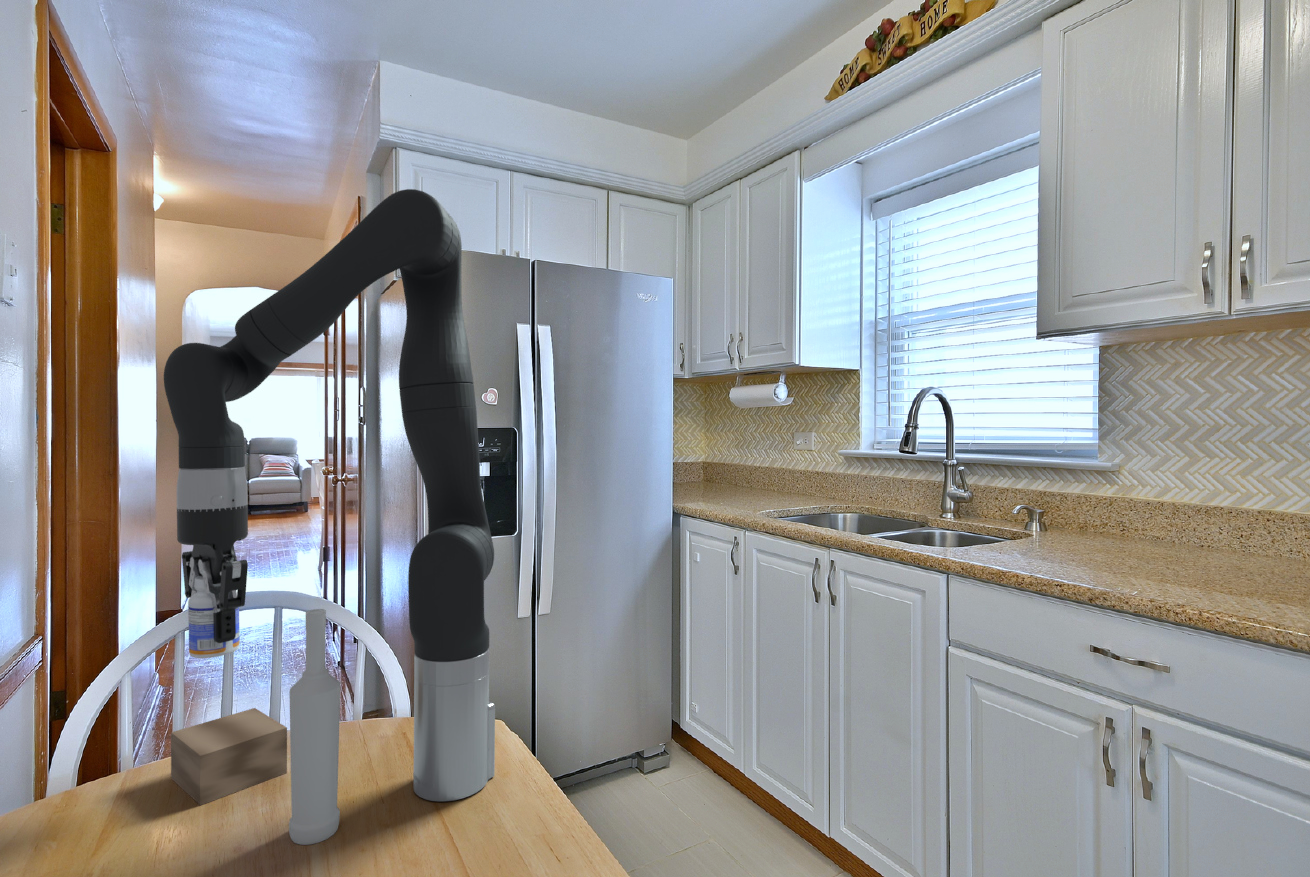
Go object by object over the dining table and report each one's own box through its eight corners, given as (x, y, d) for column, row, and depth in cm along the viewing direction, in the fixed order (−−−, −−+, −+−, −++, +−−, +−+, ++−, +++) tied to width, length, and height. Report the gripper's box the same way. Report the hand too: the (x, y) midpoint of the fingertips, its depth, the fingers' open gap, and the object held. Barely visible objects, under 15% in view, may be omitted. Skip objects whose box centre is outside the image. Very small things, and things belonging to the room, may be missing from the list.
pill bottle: (218, 643, 89) (217, 570, 89) (249, 647, 88) (248, 572, 88) (178, 656, 84) (176, 578, 84) (210, 661, 83) (209, 581, 82)
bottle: (319, 848, 74) (320, 619, 73) (277, 842, 75) (278, 615, 74) (349, 821, 79) (351, 606, 78) (310, 816, 80) (311, 604, 79)
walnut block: (254, 750, 96) (254, 707, 96) (286, 772, 90) (287, 727, 89) (171, 778, 88) (171, 732, 88) (200, 805, 82) (200, 755, 82)
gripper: (270, 504, 85) (272, 639, 85) (221, 497, 93) (223, 620, 93) (202, 510, 78) (204, 656, 79) (156, 502, 87) (158, 634, 87)
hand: (214, 636), depth 86 cm, fingers closed on pill bottle, 5 cm apart
